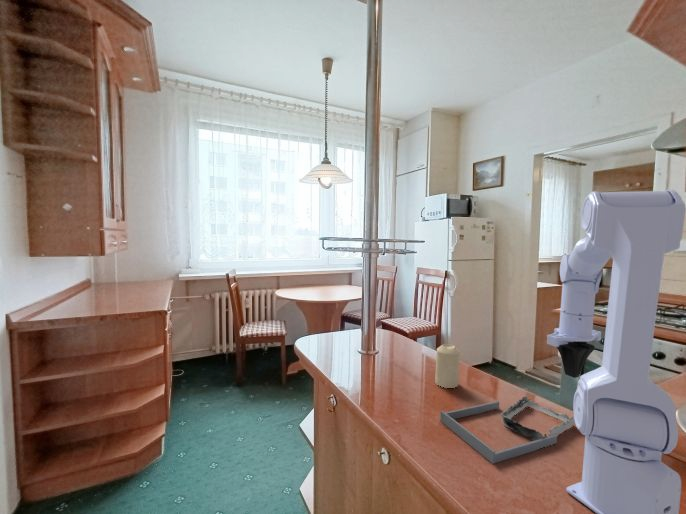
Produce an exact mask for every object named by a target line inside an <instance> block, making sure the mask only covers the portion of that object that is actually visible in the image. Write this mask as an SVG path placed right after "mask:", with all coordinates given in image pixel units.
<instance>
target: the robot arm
mask: <svg viewBox="0 0 686 514" xmlns="http://www.w3.org/2000/svg"><path fill="white" fill-rule="evenodd" d="M580 217H581V218H580V219H581V220H580V222H581V223H580V224H581V228H582V230H583V231H584V233H585V235H586V236H585V237H583V238H581V239H579V240H578V241H577V242H576V244H575V245H574V247H573V248H572V251H571V253H570V254H564V255H562V257H561V260H560V265H559V276H560V277H559V278H560V282H562V284H561V299H560V310H559V311H560V312H559V325H558V326H559V327H556V328H554V330H553V333H551V334H547V336H546V344H547V345H549V346H552V347H555V348H556V349H557V351H558V352H559V355H560V357H561V361H562V362H561V363H562V365H563V366H562V367H563V370H564V374H565V375H566V376H569V377H571V378H574V379H576V378H579V379H578V382H577V386H576V387H577V388H576V390H575V393H574V395H573V405H572V407H573V410H572V411H573V417H574V420H575V422H574V425H575V426H576V428H577V430H578V431H579V432H580V433H581V435H583V436H585V437H584V447H583V448H584V449H583V450H584V451H583V460H582V461H583V462H582V463H583V464H582V472H581V473H582V475H581V481H580V482H576V483H574V484H572V485H569V486H567V487H566V492H567V493H568V494H570V495H571V496H572V497H574V498H575V499H577V500H578V502H580V503H582V504H584V505H585V506H586V507H588V508H589V509H590V510H591V511H593V512H595V514H679V513H680V506H681V505H680V504H681V495H682V478H681V476H680V474H679V473H678V472H677V471H675V470H674V469H672V468H671V467H670V466H668V465H666V464H665V463H664V462H662V456H663V454H665V455H668V454H671V452H673V450H674V449H676V446H677V445H678V440H679V429H678V424H677V419H676V417H677V414H676V413H677V412H676V410H677V407H676V404H675V402H674V401H673V398H672V397H671V396H670V395H669V393H668V392H667V391H665V390H664V389H663V388H662V387H661V386H659V385H658V384H656V383H655V382H654V381H653V380H651V379H650V378H649V377H650V366H651V362H652V361H651V359H652V350H653V342H654V336H655V335H654V334H655V327H656V317H657V310H658V303H659V295H660V294H659V293H660V286H661V279H662V270H663V264H664V259H665V254H667V253H670V252H673V251H676V250H679V249H680V248H681V247H680V246H681V241H682V239H683V231H684V226H685V225H684V224H685V218H686V204H685V201H684V200H683V198H682V196H681V195H680V194H679V193H678V192H677V191H676V190H674V189H665V190H657V191H656V190H655V191H653V190H650V191H649V190H648V191H647V190H646V191H611V192H609V191H606V192H605V191H603V192H599V191H595V190H594V191H591V192H590V193H589V194H588V195H586V197H585V198H584V200H583V205H582V209H581V216H580ZM611 258H612V266H611V273H610V275H611V276H610V284H609V285H610V286H609V294H608V304H607V311H606V312H607V313H606V325H605V331H604V332H605V333H604V342H603V352H602V361H601V366H600V367H597V368H595V369H592V370H590V371H588V372H585V373H584V374H582V375H581V372H582V370H583V368H584V365H585V363H586V361H587V359H588V358H589V356H590V355H591V354H592V352H594V351H595V345H594V344H590V343H588V342H592V341H597V342H601V340H602V339H601V338H602V331H600V330H595V329H593V328H594V316H595V304H596V294H598V293H599V290H600V289H599V287H600V283H601V280H602V276H603V268H604V267H605V265H607V263H608V262H609V261H610V259H611Z"/></svg>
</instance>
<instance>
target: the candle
mask: <svg viewBox="0 0 686 514" xmlns="http://www.w3.org/2000/svg"><path fill="white" fill-rule="evenodd" d="M460 355H461V353H460V351H459V349H458V348H457V347H456V346H455V345H454V344H449V343H444V344H442V345H440V346H439V347H437V348H436V357H435V359H436V360H435V373H434V374H435V376H434V377H435V379H434V381H435V384H436V386H438V385H439V386H438V387H440V386H441V387H440V388H443V387H444V388H443V389H447V388H454V389H456V388H455V387H457V388H458V387H459V386H458V385H459V377H460V375H459V373H460V360H461V359H460V357H461V356H460Z"/></svg>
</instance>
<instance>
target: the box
mask: <svg viewBox="0 0 686 514" xmlns="http://www.w3.org/2000/svg"><path fill="white" fill-rule="evenodd" d="M497 408H499V409H500V401H497V400H496V401H492V402H489V403H488V402H487V403H483V404H478V405H473V406H469V407H464V408H461V409H457V410H456V409H455V410H450V411H446V412H445V411H444V410H440V417H439V419H440V422H441V423H442V424H443V425H445V426H446V427H447V428H448V429H449V430H450V431H452V432H453V433H455V434H456V435H457V436H458V437H460V438H461V439H462V440H463V441H465V443H467V444H468V445H470V447H472V449H474V450H475V451H477V452H478V453H479V454H480V455H482V456H483V457H484V459H486V460H488V461H489V462H490V463H491V464H496V463H500V462H504V461H506V460H510V459H512V458H516V457H518V456H522V455H526V454H529V453H531V452H532V453H533V452H535V451H538V449H539V450H541V449H540V448H542V449H544V448H543V447H545V448H547V447H546V446H548V447H550V446H549V445H551V446H554V445H553V444H555V443H557V442H558V436H556V435H552V436H549V437H545V438H542V439H538V440H535V441H532V440H531V441H529V442H525V443H522V444H519V445H515V446H512V447H509V448H504V449H501V450H498V451H495V450H494V449H492V447H490V446H489V445H487V444H486V443H485V442H484V441H482V440H481V439H480V438H478V437H477V436H476V435H475V434H473V433H472V432H471V431H469V430H468V429H467V428H466V427H464V426H463V425H462V424H460V423H459V422H458V421H456V419H460V418H464V417H468V416H474V415H478V414H482V413H487V412H491V411H494V410H493V409H496V410H498V409H497ZM490 410H491V411H490ZM486 411H487V412H486ZM555 445H556V444H555Z"/></svg>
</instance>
